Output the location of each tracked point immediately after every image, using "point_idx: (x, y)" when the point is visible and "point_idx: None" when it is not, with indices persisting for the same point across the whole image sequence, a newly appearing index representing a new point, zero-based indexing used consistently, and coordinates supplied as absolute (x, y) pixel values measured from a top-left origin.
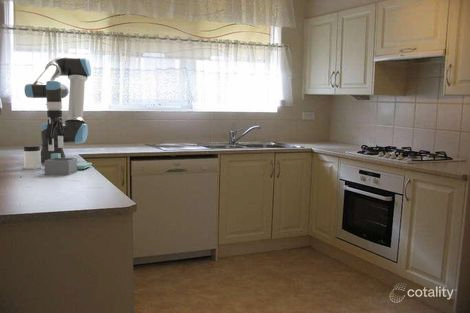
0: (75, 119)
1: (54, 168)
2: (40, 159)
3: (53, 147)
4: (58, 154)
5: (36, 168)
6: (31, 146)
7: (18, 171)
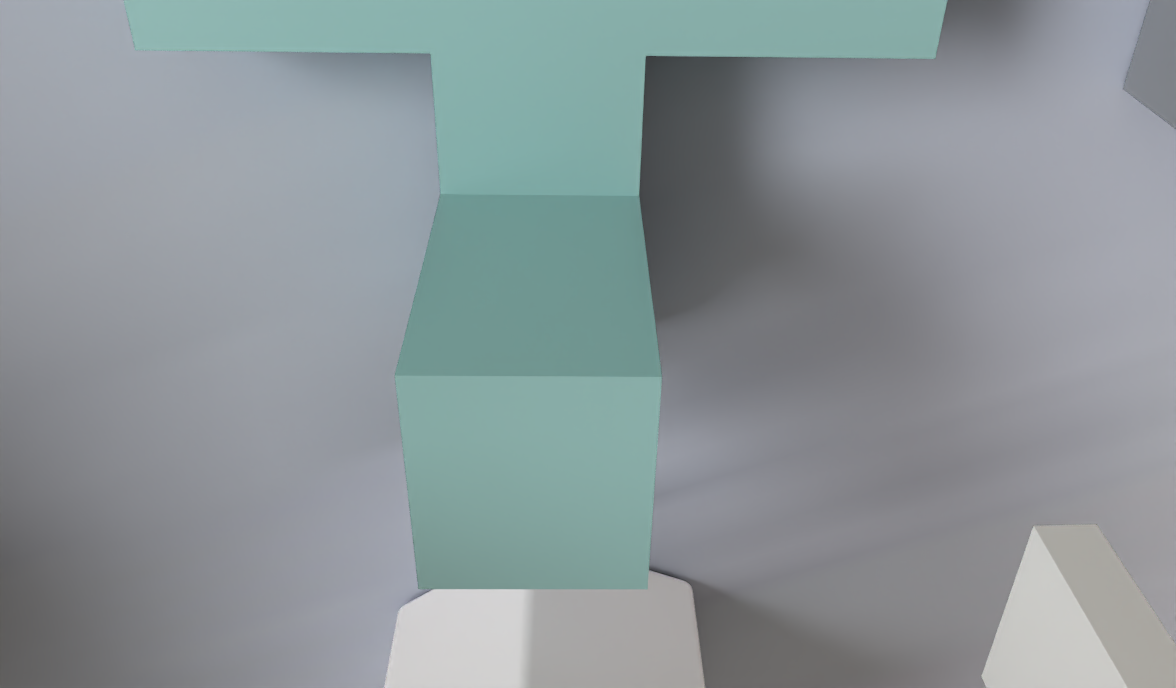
0: None
1: None
2: (537, 684)
3: (1168, 649)
4: (633, 365)
5: None
6: None
7: None
